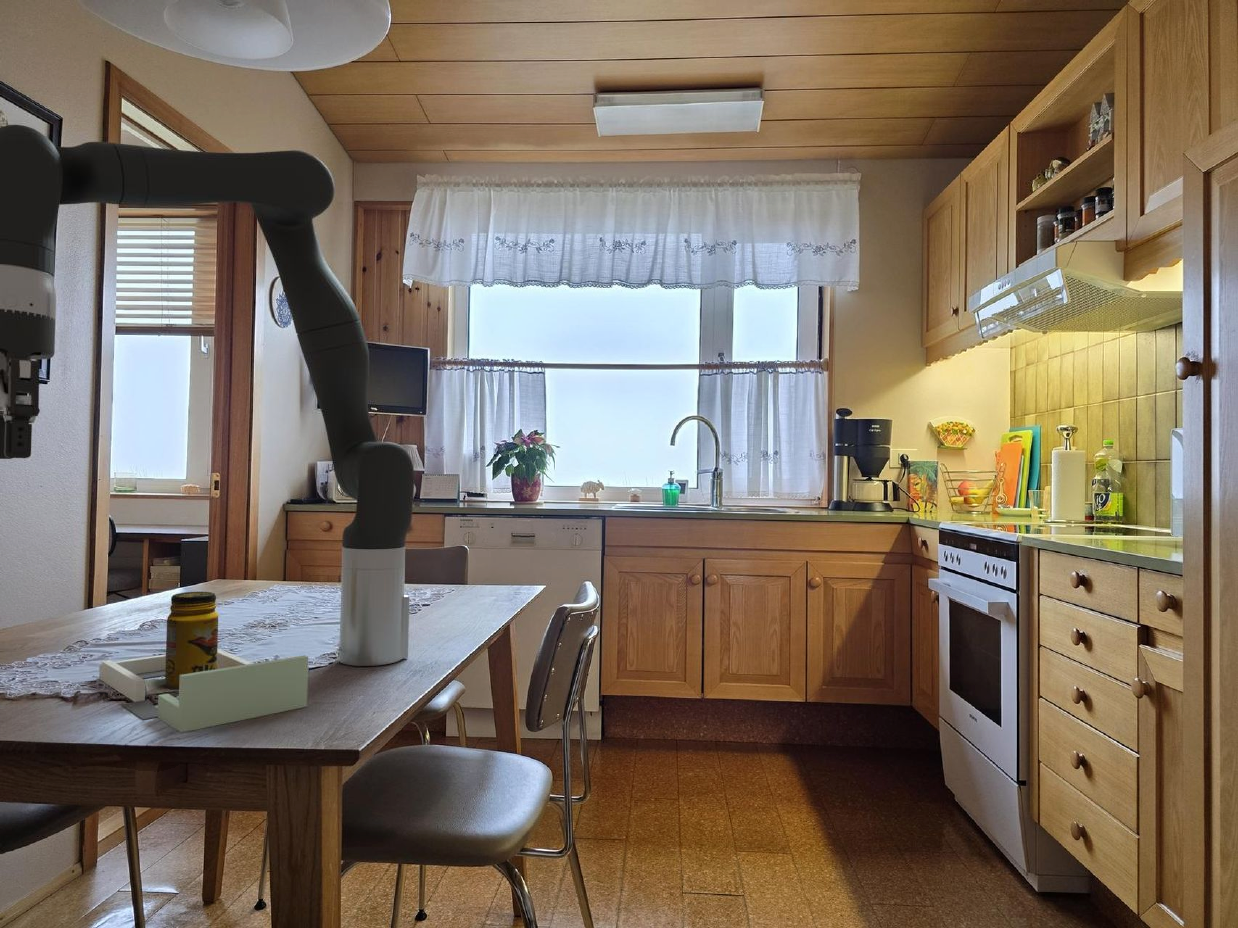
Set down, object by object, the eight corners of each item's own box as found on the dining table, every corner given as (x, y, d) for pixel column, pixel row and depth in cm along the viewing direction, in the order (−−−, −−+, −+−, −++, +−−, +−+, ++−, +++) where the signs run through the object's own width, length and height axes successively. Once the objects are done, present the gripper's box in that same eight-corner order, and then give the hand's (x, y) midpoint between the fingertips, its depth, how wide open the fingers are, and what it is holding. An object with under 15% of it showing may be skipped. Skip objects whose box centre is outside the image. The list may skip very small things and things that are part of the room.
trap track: (209, 662, 115) (210, 621, 116) (306, 706, 95) (308, 656, 95) (85, 680, 104) (87, 635, 104) (165, 735, 83) (167, 679, 83)
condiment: (222, 687, 103) (225, 595, 103) (147, 695, 98) (150, 600, 98) (215, 675, 109) (218, 588, 109) (144, 682, 104) (147, 592, 104)
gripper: (70, 309, 85) (66, 459, 84) (40, 325, 94) (36, 459, 94) (-18, 297, 79) (-23, 457, 79) (-40, 315, 89) (-45, 458, 89)
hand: (9, 458), depth 86 cm, fingers open, 8 cm apart
